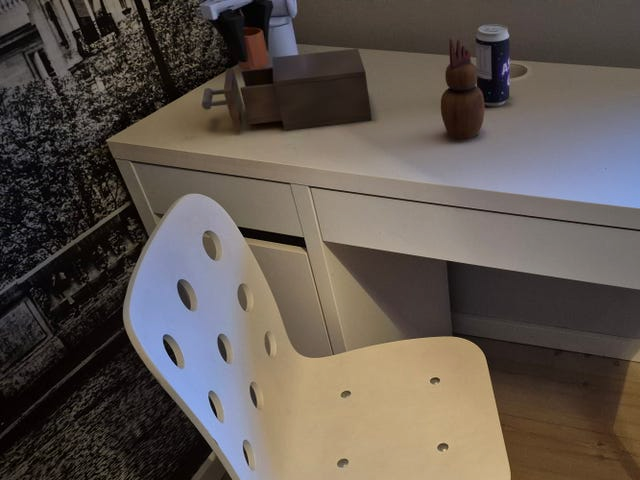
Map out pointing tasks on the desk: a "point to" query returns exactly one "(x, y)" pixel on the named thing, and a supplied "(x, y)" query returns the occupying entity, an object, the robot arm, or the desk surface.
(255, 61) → the cup
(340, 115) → the cabinet
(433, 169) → the desk surface
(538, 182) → the desk surface
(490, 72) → the beverage can
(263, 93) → the drawer
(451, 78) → the wooden figurine
